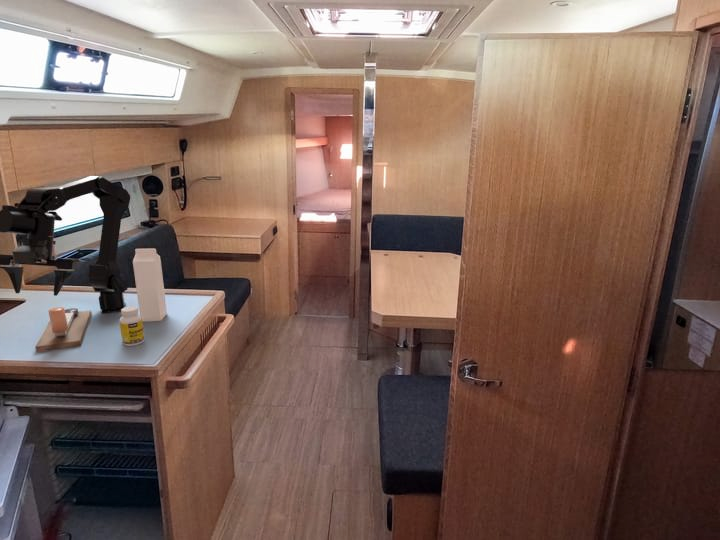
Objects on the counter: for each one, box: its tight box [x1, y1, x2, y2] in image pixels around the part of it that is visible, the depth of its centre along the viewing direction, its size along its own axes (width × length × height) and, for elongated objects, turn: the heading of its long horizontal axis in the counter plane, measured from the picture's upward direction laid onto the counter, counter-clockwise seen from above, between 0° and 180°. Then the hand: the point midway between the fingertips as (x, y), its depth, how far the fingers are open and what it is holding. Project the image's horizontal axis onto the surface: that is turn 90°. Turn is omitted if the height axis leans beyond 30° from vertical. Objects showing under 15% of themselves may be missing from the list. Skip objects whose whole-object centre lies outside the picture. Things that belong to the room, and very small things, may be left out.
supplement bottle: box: [119, 305, 145, 347], centre depth 124 cm, size 5×5×10 cm
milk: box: [132, 247, 168, 323], centre depth 139 cm, size 6×6×22 cm
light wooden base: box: [35, 309, 93, 353], centre depth 131 cm, size 10×24×2 cm, turn 23°
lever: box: [47, 306, 79, 337], centre depth 131 cm, size 4×20×7 cm, turn 23°
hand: (36, 294), depth 122 cm, fingers open, 9 cm apart
